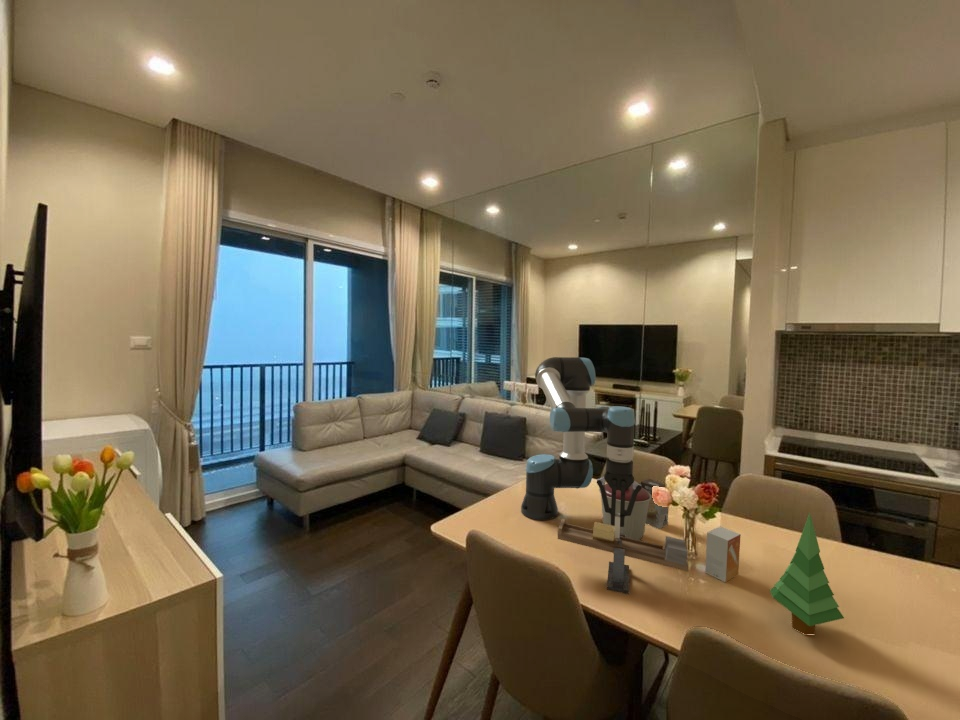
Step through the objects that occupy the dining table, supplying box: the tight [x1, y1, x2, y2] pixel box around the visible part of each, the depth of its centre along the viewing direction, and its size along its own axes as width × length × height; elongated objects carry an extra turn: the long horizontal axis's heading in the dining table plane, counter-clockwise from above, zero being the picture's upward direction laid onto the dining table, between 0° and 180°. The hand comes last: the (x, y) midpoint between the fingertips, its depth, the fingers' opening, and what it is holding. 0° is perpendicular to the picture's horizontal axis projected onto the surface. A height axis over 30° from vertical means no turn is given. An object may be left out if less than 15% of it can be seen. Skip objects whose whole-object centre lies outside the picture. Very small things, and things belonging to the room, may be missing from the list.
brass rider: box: [592, 521, 615, 544], centre depth 122 cm, size 4×6×4 cm
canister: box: [598, 482, 652, 541], centre depth 147 cm, size 18×18×21 cm
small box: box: [704, 526, 742, 583], centre depth 124 cm, size 8×6×13 cm
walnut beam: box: [557, 518, 689, 572], centre depth 120 cm, size 8×36×6 cm, turn 70°
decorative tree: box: [769, 512, 845, 635], centre depth 100 cm, size 14×16×30 cm
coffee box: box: [640, 478, 670, 530], centre depth 158 cm, size 9×6×16 cm
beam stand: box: [606, 533, 630, 595], centre depth 120 cm, size 14×6×12 cm, turn 160°
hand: (616, 536), depth 120 cm, fingers closed
